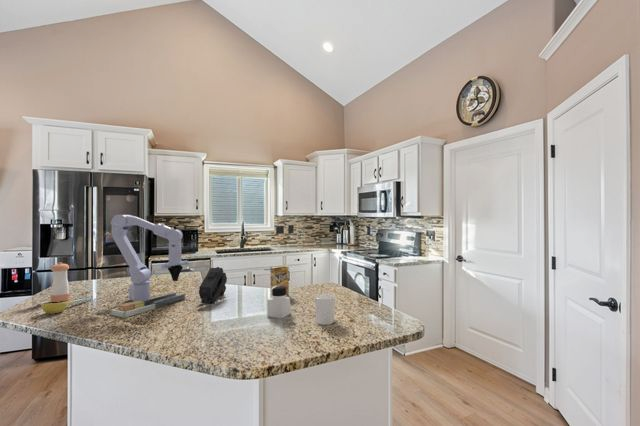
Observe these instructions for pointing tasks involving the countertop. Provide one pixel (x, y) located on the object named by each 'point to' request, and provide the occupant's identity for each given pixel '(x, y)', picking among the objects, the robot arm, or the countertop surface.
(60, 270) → the pepper shaker
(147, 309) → the tray
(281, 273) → the candy box
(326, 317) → the white cup
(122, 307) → the copper block
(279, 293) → the medicine bottle
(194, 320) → the countertop surface
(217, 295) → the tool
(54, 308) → the ladle
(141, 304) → the brass block
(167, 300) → the rail
